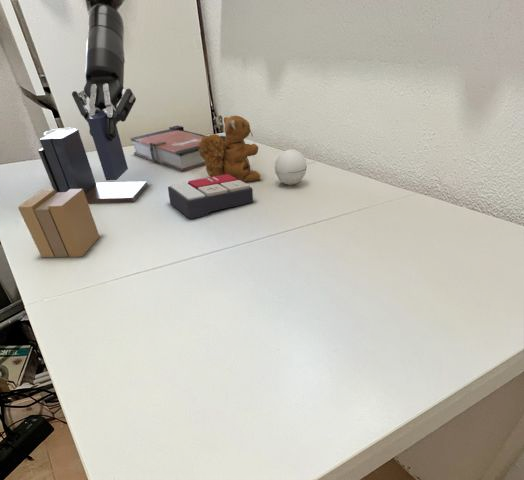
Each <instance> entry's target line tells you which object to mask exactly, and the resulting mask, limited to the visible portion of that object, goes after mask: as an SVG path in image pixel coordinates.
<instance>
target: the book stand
mask: <svg viewBox="0 0 524 480" xmlns="http://www.w3.org/2000/svg"><path fill="white" fill-rule="evenodd" d="M39 142H40V144H41V148H40V149H38V150H37V152H38V155H39V157H40V160H41V162H42V164H43V167H44V170H45V172H46V175H47V176H48V179H49V183H50V184H51V186H52V190H55V191H56V193H57V192H67V191H68V190H70V189H83V191H84V193H85V196H86V199H87V202H88V204H113V203H114V204H116V203H117V204H119V203H135V201H136V200H137V199H138V198H139V197H140V196H141V194H142V193H143V192H144V191H145V190H146V189H147V187H149V183H148V181H113V182H111V181H110V182H96V180H95V176H94V174H93V171H92V167H91V164H90V161H89V159H88V155H87V151H86V149H85V146H84V142H83V140H82V136H81V133H80V130H79V129H76V130H57V131H55V132H53V133H51V134H49V135H47V136H45V135H44V136H43V137H41V138H40V139H39Z"/></svg>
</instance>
